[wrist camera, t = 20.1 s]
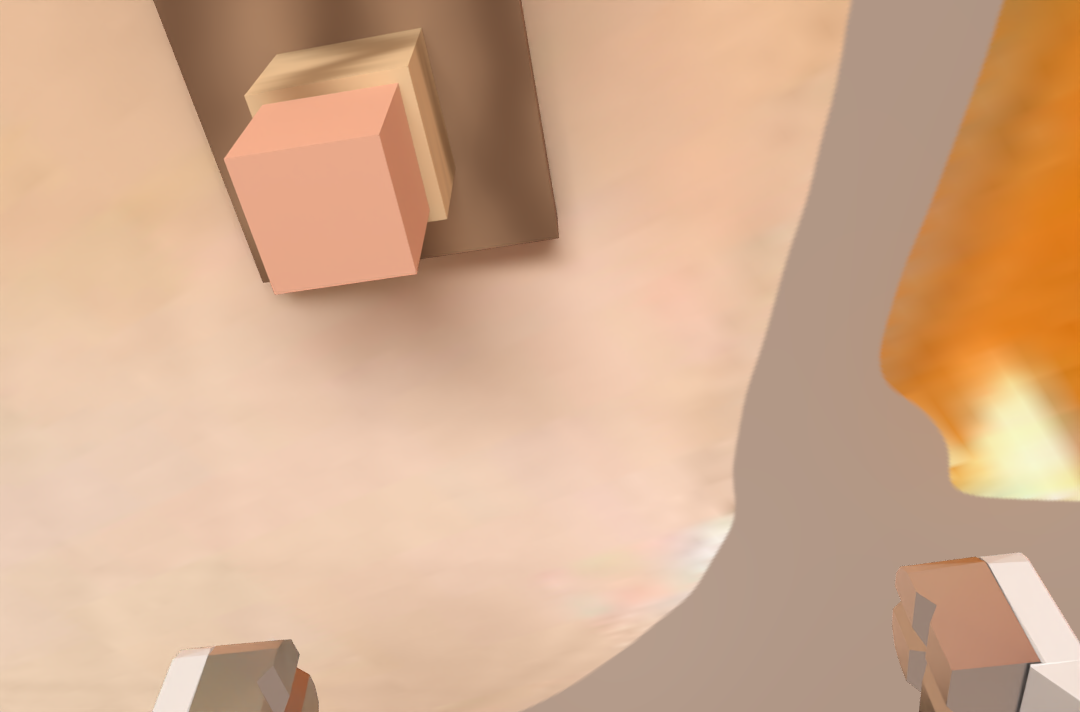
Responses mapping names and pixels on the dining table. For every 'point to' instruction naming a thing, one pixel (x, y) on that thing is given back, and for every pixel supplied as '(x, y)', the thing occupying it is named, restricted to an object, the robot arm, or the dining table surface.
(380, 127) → the terracotta block
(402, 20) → the base board
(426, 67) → the oak block
